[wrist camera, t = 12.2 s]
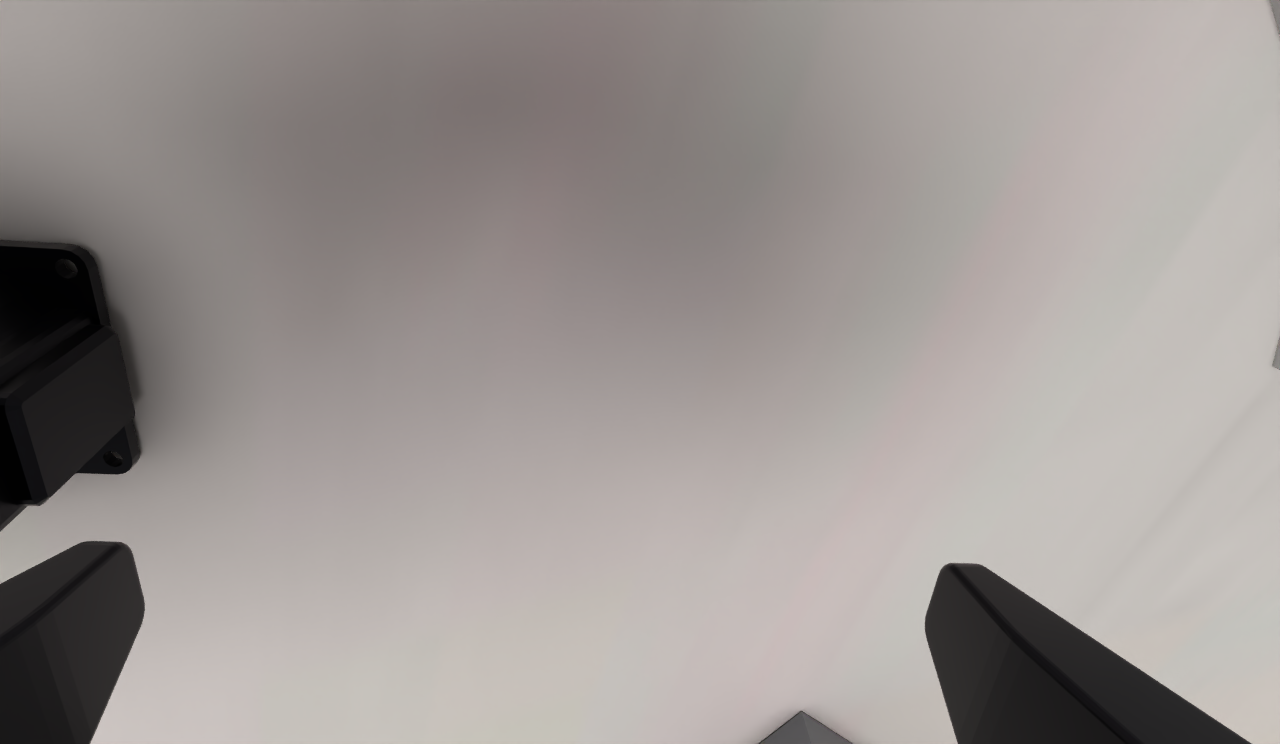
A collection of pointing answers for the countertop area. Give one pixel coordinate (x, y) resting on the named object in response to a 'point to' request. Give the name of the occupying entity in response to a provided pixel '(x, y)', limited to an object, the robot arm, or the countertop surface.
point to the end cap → (804, 733)
